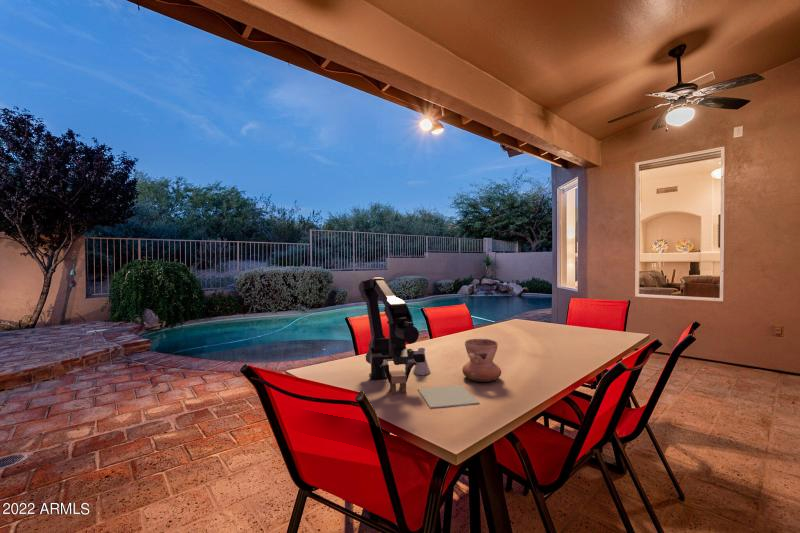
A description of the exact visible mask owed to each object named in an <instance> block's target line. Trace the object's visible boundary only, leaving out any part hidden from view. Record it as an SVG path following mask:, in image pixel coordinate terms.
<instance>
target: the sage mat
mask: <svg viewBox="0 0 800 533" xmlns="http://www.w3.org/2000/svg"><path fill="white" fill-rule="evenodd" d="M417 391H418V392H419V394H420V395H421V396H422V398H423V400H424V401H425V404H427V406H428V407H429V409H440V408H450V407H457V406H459V407H460V406H471V405H480V402H479V400H477V398H475V397H474V395H472V394H471V393H470V391H468V390H467V389H466V388H465V387H463V385H462V384H456V385H444V386H434V387H423V388H422V387H420V388H417Z"/></svg>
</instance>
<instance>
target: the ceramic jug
mask: <svg viewBox="0 0 800 533" xmlns="http://www.w3.org/2000/svg"><path fill="white" fill-rule="evenodd" d="M498 345H499V344H498V342H497V341H496V340H493V339H489V338H470V339H467V340H465V341H464V346H465V350H466V353H467V357H468V358H469V361H468V362H465V364H464V365H463V366H462V370H461V371H462V374H463V375H464V377H466V378H467V379H469V380H471V381H474V382H478V383H479V382H481V383H489V382H492V381H496V380H498V379H499V378H501V375H502V370H501V367H500V366H499V365H497V363H495V362H494V358H495V355H496V353H497V352H498V351H497V350H498V347H499V346H498Z"/></svg>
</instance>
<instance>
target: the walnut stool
mask: <svg viewBox="0 0 800 533" xmlns="http://www.w3.org/2000/svg"><path fill="white" fill-rule="evenodd" d="M389 373H390V383H389V389H390V390H391V394H392V395H394V394H395V395H396V394H397V384H398V385H399V388H400V389H401V390H402V391H401V392H402V394H406V393H407V382H406V374H405V370H389Z"/></svg>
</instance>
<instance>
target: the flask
mask: <svg viewBox="0 0 800 533" xmlns="http://www.w3.org/2000/svg"><path fill="white" fill-rule="evenodd" d="M417 351H421V352H422V353H423V354H424V355H425V356H426V353H425V351H426V348H425V347H417ZM416 363H417V362H416ZM413 367H414V368H413V371H412V372H413V374H414V375H417V376H418V375H419V376H426V375H429V374H431V370H430V367H429V364H428V362H427V359H426V357H425V362H420V363H417V365H414V366H413Z"/></svg>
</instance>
